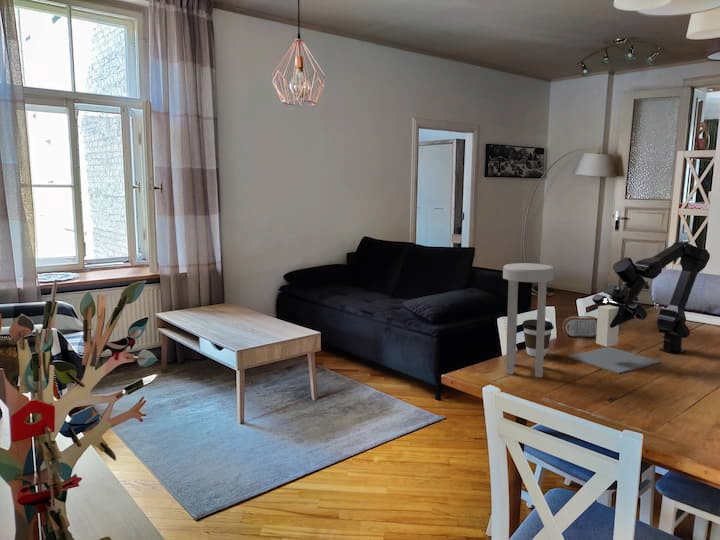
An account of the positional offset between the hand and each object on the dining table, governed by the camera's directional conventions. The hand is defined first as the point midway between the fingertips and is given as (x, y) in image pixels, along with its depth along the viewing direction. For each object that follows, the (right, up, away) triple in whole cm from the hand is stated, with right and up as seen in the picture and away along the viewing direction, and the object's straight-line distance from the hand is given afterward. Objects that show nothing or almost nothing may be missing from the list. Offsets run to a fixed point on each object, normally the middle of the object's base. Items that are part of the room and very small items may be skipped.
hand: (604, 325), depth 179 cm
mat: (+5, -13, +5) cm, 15 cm away
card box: (+1, -6, +2) cm, 7 cm away
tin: (+7, -9, +36) cm, 37 cm away
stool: (-28, -15, -4) cm, 32 cm away
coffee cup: (-19, -12, +13) cm, 26 cm away
